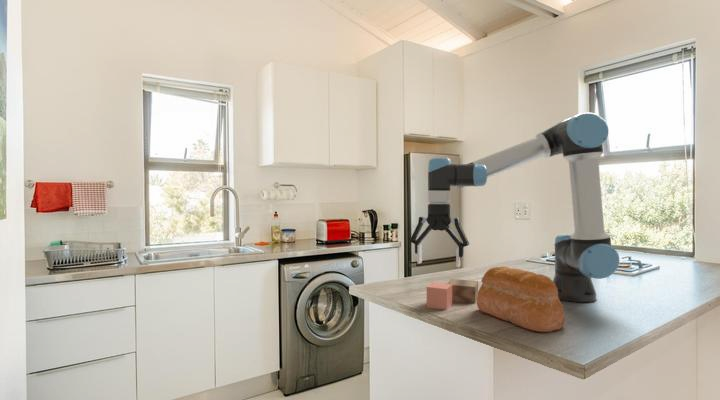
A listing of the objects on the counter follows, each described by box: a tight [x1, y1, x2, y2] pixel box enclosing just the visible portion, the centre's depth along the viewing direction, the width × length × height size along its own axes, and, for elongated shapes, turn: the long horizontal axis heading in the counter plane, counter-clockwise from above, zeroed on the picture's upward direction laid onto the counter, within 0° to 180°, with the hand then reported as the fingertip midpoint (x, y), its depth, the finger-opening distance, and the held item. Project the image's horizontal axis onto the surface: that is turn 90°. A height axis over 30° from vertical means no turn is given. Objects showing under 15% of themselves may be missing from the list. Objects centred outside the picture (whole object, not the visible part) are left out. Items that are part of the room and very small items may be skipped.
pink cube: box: [426, 282, 453, 311], centre depth 135 cm, size 7×7×7 cm
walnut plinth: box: [446, 278, 479, 304], centre depth 144 cm, size 10×10×6 cm
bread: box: [476, 266, 566, 333], centre depth 120 cm, size 14×26×15 cm, turn 25°
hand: (438, 264), depth 135 cm, fingers open, 13 cm apart
